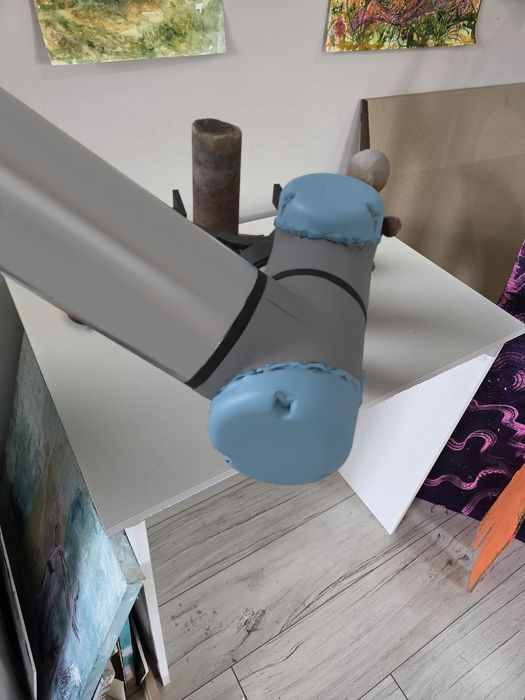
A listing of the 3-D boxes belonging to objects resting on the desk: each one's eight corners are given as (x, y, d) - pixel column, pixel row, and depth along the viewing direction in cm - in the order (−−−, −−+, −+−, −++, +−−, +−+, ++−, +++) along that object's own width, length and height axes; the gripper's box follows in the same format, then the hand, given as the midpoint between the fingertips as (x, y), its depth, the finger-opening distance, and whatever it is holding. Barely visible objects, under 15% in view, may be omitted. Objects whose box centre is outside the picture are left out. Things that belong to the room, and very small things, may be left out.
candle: (211, 234, 85) (210, 112, 72) (246, 247, 83) (253, 124, 69) (184, 253, 80) (178, 126, 67) (221, 268, 78) (223, 140, 64)
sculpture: (295, 341, 81) (323, 161, 60) (275, 301, 88) (294, 129, 68) (379, 328, 85) (432, 155, 64) (353, 291, 92) (394, 126, 72)
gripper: (154, 332, 50) (134, 228, 65) (373, 304, 56) (310, 215, 71) (147, 271, 45) (127, 173, 60) (390, 248, 51) (318, 164, 66)
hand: (226, 196), depth 65 cm, fingers open, 13 cm apart
